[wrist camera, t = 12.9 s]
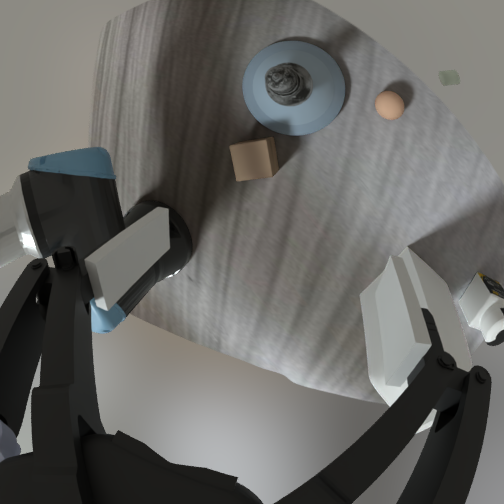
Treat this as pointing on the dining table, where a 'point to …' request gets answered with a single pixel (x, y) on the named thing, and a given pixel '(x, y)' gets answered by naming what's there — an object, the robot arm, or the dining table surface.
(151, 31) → the dining table surface
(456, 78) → the pale green cup
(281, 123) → the plate
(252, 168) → the walnut block
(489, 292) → the medicine bottle
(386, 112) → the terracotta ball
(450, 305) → the milk
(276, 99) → the stone chess piece
